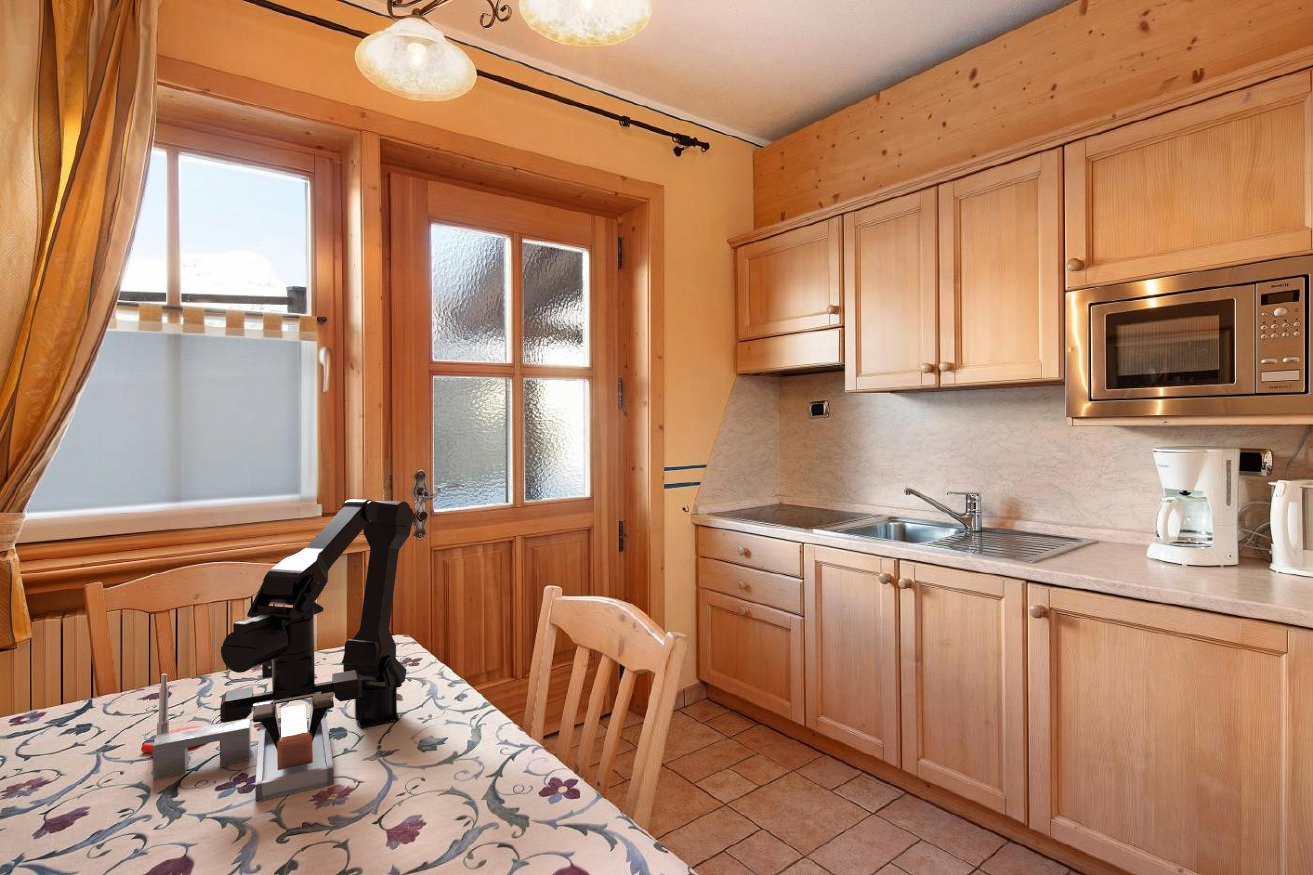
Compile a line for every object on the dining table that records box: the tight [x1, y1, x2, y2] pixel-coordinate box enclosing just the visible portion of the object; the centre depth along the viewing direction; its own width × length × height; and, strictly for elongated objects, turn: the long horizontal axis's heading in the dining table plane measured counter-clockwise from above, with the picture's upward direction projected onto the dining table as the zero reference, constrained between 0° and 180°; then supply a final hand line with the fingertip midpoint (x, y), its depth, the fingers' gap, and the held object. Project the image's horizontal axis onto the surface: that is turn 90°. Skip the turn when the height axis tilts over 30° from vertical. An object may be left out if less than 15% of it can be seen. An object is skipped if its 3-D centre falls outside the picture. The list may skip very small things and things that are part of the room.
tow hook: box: [140, 673, 203, 754], centre depth 115 cm, size 8×13×9 cm
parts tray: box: [254, 715, 335, 803], centre depth 108 cm, size 10×20×2 cm, turn 29°
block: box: [152, 717, 252, 781], centre depth 107 cm, size 12×4×5 cm, turn 119°
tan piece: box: [277, 703, 313, 770], centre depth 108 cm, size 15×5×4 cm, turn 29°
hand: (294, 750), depth 104 cm, fingers closed on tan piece, 3 cm apart
